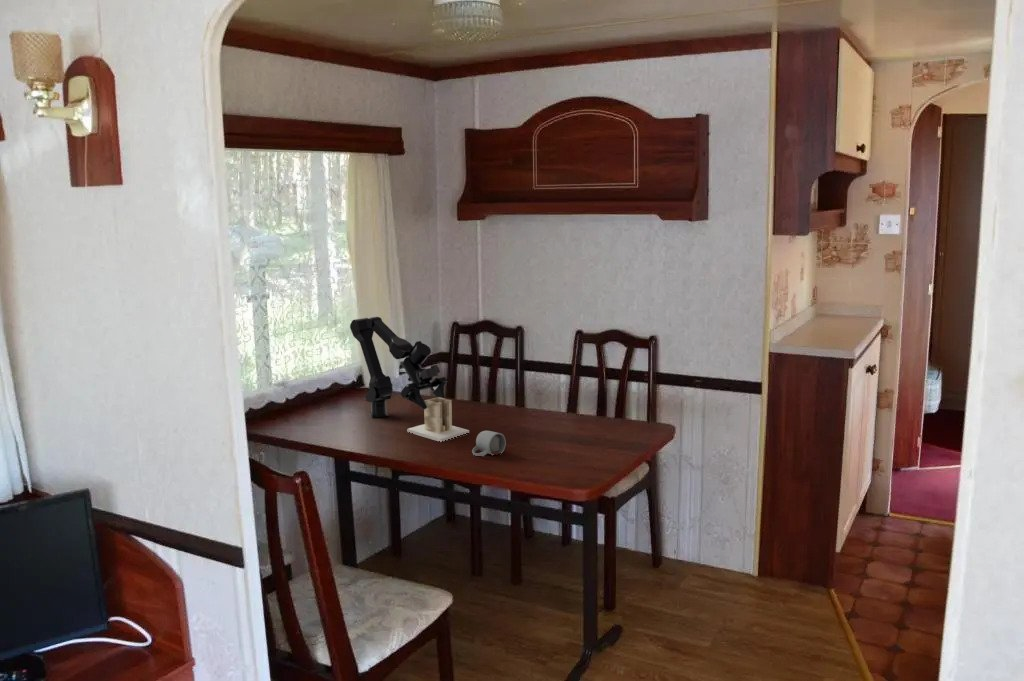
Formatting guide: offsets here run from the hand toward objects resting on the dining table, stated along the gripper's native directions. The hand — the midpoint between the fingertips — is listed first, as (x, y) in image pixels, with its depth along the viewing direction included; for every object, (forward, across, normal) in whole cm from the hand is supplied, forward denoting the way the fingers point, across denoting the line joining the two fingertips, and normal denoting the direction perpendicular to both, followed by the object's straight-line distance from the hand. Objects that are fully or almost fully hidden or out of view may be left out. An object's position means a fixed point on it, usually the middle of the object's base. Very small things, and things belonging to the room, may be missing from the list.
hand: (435, 406), depth 309 cm
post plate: (+8, 0, +6) cm, 10 cm away
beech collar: (+7, 0, +5) cm, 9 cm away
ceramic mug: (+29, -5, -15) cm, 33 cm away
